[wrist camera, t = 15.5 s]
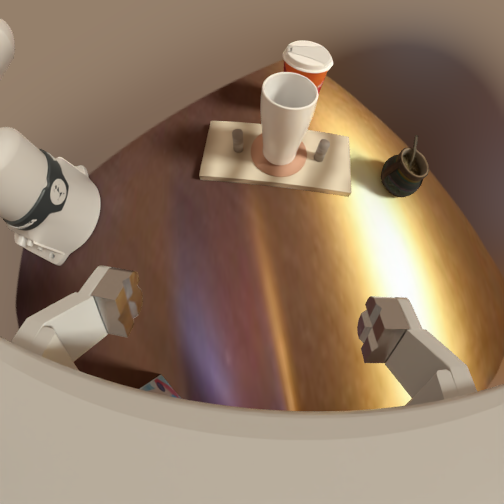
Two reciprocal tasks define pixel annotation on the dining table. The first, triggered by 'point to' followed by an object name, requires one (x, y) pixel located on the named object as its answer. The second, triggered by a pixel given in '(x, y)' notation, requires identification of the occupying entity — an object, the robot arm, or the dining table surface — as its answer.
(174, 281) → the dining table surface
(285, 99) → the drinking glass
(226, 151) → the pin board
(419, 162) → the mate gourd
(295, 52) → the paper cup
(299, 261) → the dining table surface
